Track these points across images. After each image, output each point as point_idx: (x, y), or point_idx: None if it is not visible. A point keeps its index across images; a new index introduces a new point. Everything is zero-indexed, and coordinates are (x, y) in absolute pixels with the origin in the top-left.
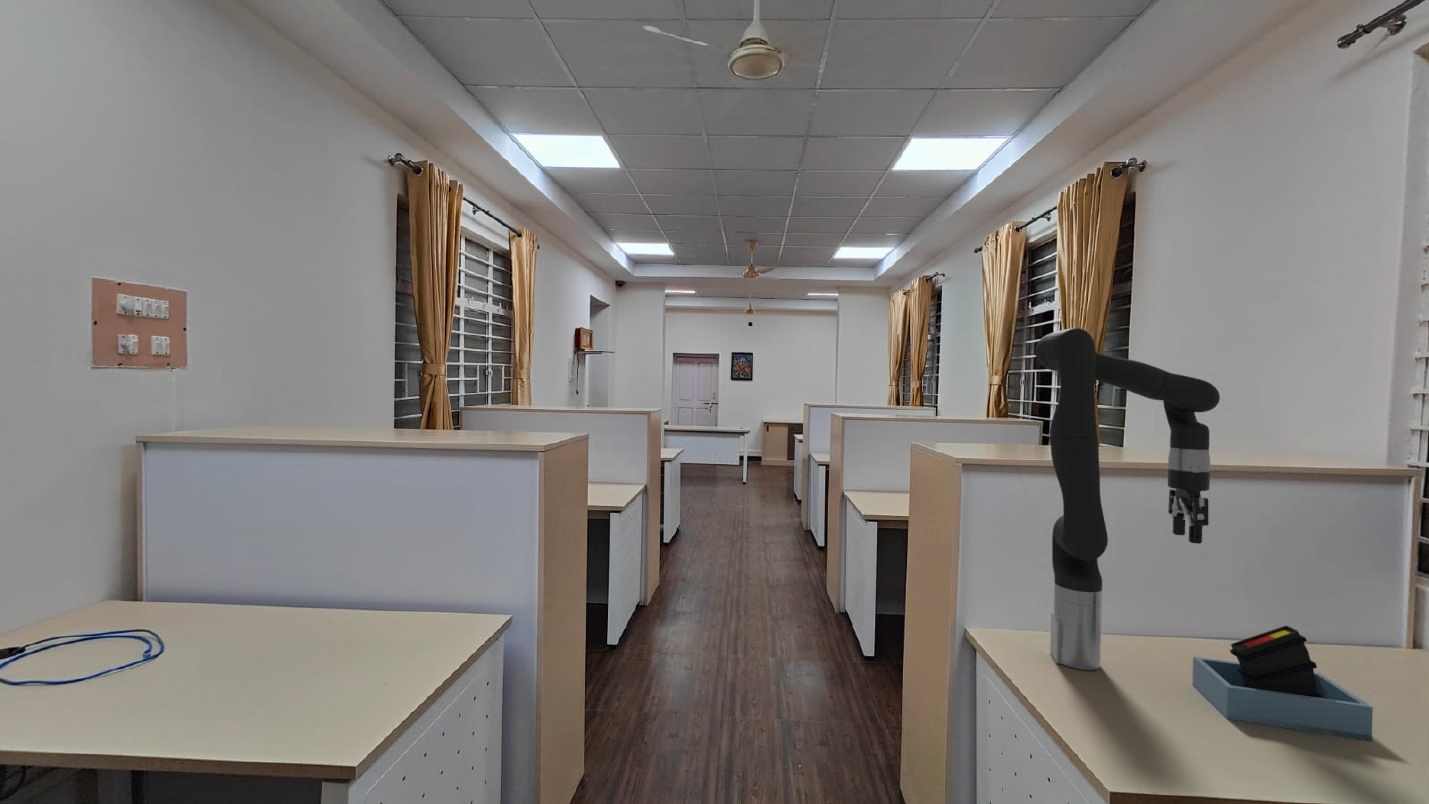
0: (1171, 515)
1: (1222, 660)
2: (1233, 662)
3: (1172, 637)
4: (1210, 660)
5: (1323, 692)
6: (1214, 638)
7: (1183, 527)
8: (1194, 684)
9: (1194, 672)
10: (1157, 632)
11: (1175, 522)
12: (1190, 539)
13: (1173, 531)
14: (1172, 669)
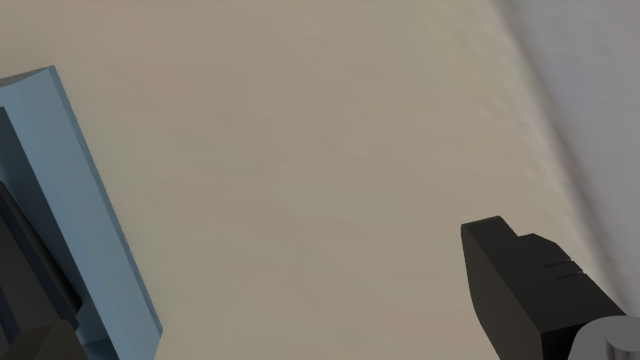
0: (632, 333)
1: (49, 168)
2: (56, 196)
3: (515, 59)
4: (16, 133)
5: (108, 356)
6: (572, 182)
7: (501, 356)
8: (37, 70)
9: (22, 77)
10: (548, 15)
11: (515, 315)
12: (13, 345)
13: (484, 228)
14: (162, 23)
